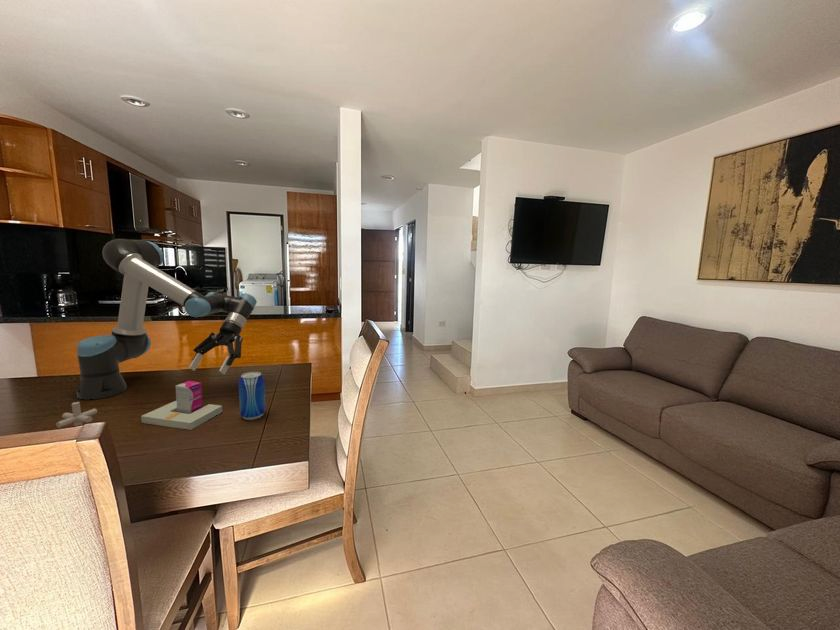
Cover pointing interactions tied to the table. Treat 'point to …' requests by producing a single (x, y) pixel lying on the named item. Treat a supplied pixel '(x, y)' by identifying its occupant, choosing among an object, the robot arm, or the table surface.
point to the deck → (180, 416)
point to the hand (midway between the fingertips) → (206, 370)
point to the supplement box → (189, 397)
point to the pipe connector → (76, 416)
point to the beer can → (251, 395)
